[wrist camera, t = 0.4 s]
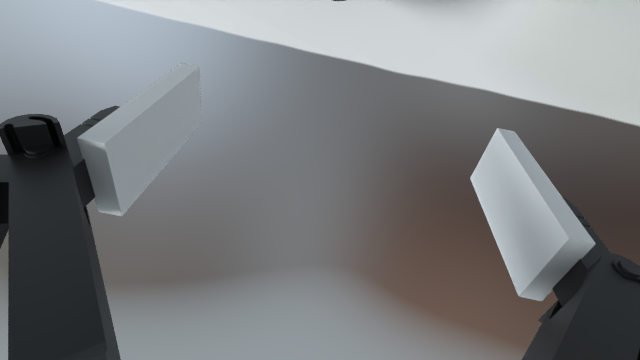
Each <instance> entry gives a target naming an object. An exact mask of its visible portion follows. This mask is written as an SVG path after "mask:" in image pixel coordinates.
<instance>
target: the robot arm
mask: <svg viewBox="0 0 640 360" xmlns="http://www.w3.org/2000/svg"><path fill="white" fill-rule="evenodd" d="M200 95H201V93H200V70H199V66H194V65H189V64H185V63H181V64H180V65H178V66H177V67H175V68H174V69H173V70H171V71H170V72H168V73H167V74H166V75H164V76H163V77H161V78H160V79H159V80H157V81H156V82H154V83H153V84H152V85H150V86H149V87H147V88H146V89H145V90H144V91H142V92H140V93H139V94H138V95H136V96H135V97H134V98H132V99H131V100H130V101H128V102H127V103H125V104H124V105H122V106H121V107H118V106H114V107H110V108H107V109H104V110H101V111H100V112H98V113H97V114H95V115H94V116H92V117H91V119H88V120H86V121H85V122H83V123H82V125H79V126H77V127H76V128H74V129H73V130H71V131H70V132H68V133H67V134H65V135H63V132H62V129H61V126H60V123H59V121H58V120H57V118H54V117H52V116H49V115H43V114H28V115H22V116H17V117H14V118H11V119H8V120H6V121H4V122H3V123H1V124H0V137H1V139H2V142H3V144H4V146H5V148H6V151H7V153H8V155H0V248H1V245H2V243H3V241H4V238H5V236H6V234H7V232H8V229H9V308H8V310H9V311H8V313H9V315H8V316H9V317H8V318H9V319H8V320H9V321H8V326H9V327H8V328H9V329H8V331H9V332H8V345H9V346H8V356H9V357H8V360H121V359H120V354H119V350H118V345H117V341H116V336H115V332H114V327H113V323H112V318H111V314H110V309H109V305H108V300H107V295H106V291H105V286H104V282H103V277H102V273H101V268H100V264H99V259H98V255H97V250H96V245H95V241H94V236H93V232H92V227H91V223H90V218H89V214H88V210H87V207H86V205H87V204H88V203H89V202H90V201H91V200H93V198H95V201H96V204H97V208H98V211H99V212H104V213H109V214H114V215H119V216H122V215H123V214H124V213H125V212H126V211H127V210H128V209H129V207H130V206H131V205H132V204H133V203H134V202H135V200H136V199H137V198H138V197H139V196H140V195H141V193H142V192H143V191H144V190H145V189H146V187H147V186H148V185H149V184H150V183H151V182H152V181H153V179H154V178H155V177H156V176H157V175H158V174H159V172H160V171H161V170H162V169H163V167H165V166H166V164H167V163H168V162H169V161H170V160H171V159H172V157H173V156H174V155H175V154H176V153H177V152H178V150H179V149H180V148H181V147H182V146H183V144H184V143H185V142H186V141H187V140H188V139H189V138H190V136H191V135H192V134H193V133H194V132H195V130H196V129H197V128H198V127H199V126H200V125H201V123H202V117H201V96H200ZM471 181H472V184H473V186H474V189H475V191H476V194H477V196H478V198H479V201H480V203H481V206H482V208H483V211H484V213H485V215H486V218H487V220H488V223H489V225H490V228H491V230H492V232H493V235H494V237H495V240H496V242H497V245H498V247H499V250H500V252H501V254H502V257H503V259H504V262H505V264H506V267H507V269H508V271H509V274H510V276H511V279H512V281H513V284H514V286H515V288H516V291H517V293H518V295H519V297H524V298H529V299H534V300H539V301H542V300H543V299H544V298H545V297H546V296H547V295H548V294H549V293H550V292H551V291H552V290H553V291H554V293H555V294H556V297H557V298H558V301H557V302H556V303H555V304H554V305H553V306H552V307H551V308H550V309H549V310H548V311H547V312H546V313H545V314H544V315H543V316H542V317H541V318H540V319H539V321H540V322H541V323H542V322H543V323H542V324H541V326H540V328H539V330H538V332H537V333H536V335H535V337H534V339H533V341H532V342H531V344H530V346H529V348H528V349H527V351H526V353H525V355H524V357H523V358H522V360H640V266H639V265H637V264H636V263H634V262H633V261H631V260H629V259H627V258H625V257H623V256H620V255H617V254H613V253H610V251H609V250H608V248H607V247H606V246H605V245H604V243H603V242H602V240H601V239H600V238H599V236H598V235H597V234H596V233H595V231H594V230H593V229H592V228H590V225H589V223H588V222H587V221H586V220H585V219H584V217H583V215H582V214H581V213H580V211H579V210H578V209H577V207H576V206H574V205H573V204H572V203H571V202H570V201H568V200H567V199H566V198H565V197H562V196H561V195H560V194H559V192H558V191H557V189H556V188H555V187H554V185H553V184H552V183H551V181H550V180H549V178H548V177H547V176H546V174H545V173H544V172H543V170H542V169H541V168H540V166H539V165H538V163H537V162H536V161H535V159H534V158H533V156H532V155H531V154H530V152H529V151H528V150H527V148H526V147H525V145H524V144H523V143H522V141H521V140H520V139H519V137H518V136H517V134H516V133H515V132H514V131H509V130H504V129H499V128H497V130H496V131H495V133H494V135H493V137H492V139H491V141H490V143H489V144H488V146H487V148H486V150H485V152H484V154H483V156H482V157H481V159H480V161H479V163H478V165H477V167H476V169H475V170H474V172H473V174H472V176H471Z"/></svg>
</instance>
